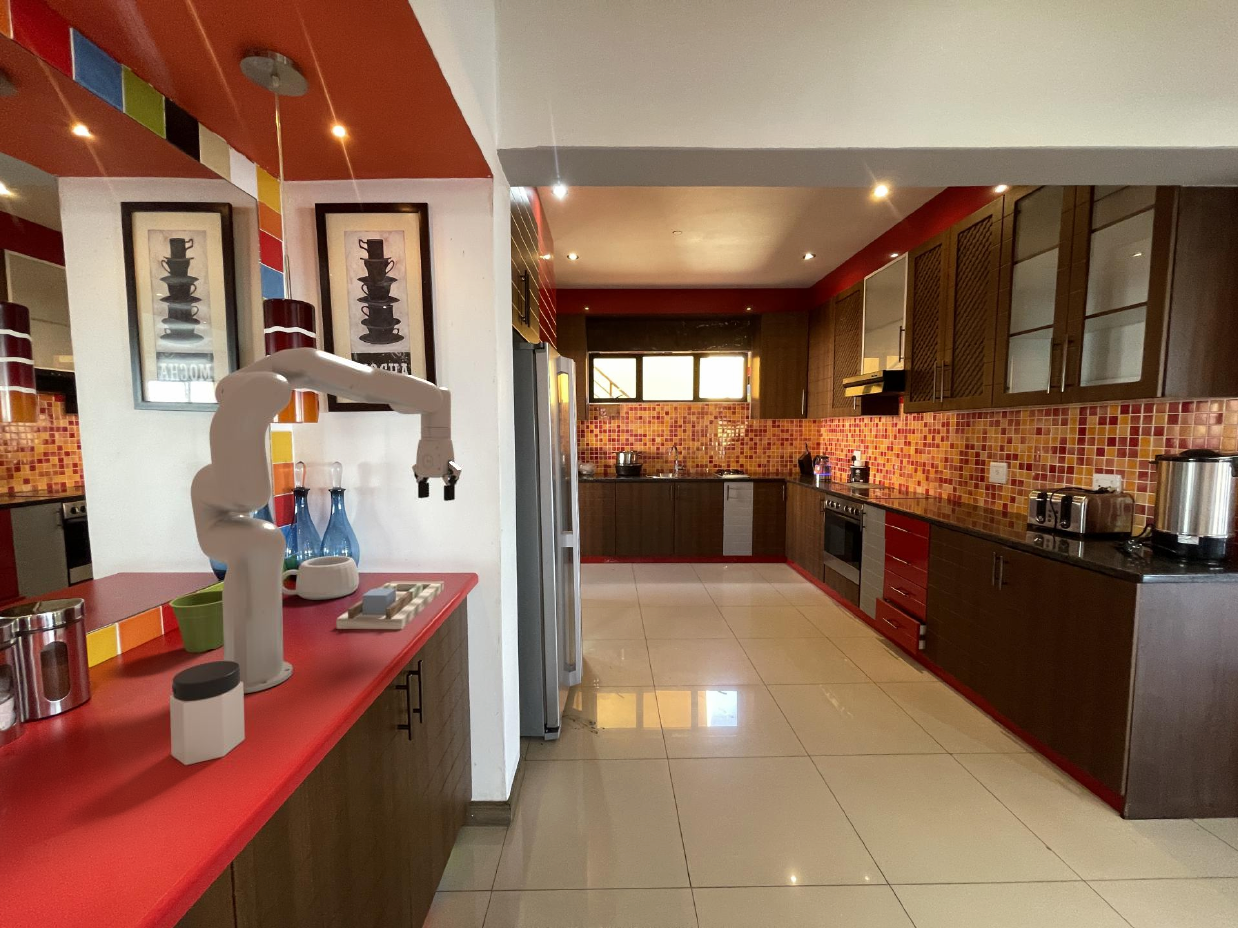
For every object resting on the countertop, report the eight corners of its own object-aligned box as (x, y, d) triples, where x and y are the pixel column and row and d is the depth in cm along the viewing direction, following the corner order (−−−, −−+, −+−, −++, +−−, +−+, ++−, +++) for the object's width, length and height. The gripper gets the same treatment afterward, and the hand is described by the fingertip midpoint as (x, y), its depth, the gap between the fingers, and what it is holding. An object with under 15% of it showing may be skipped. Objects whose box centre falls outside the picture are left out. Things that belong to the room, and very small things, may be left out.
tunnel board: (401, 628, 132) (401, 609, 132) (336, 628, 132) (336, 608, 132) (443, 589, 166) (443, 573, 166) (392, 588, 166) (391, 573, 166)
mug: (351, 582, 173) (351, 552, 172) (365, 595, 160) (365, 562, 159) (273, 594, 159) (272, 561, 158) (281, 609, 146) (280, 573, 146)
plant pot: (178, 642, 122) (177, 593, 122) (241, 633, 128) (240, 587, 127) (163, 661, 112) (161, 609, 111) (232, 652, 117) (231, 601, 117)
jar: (205, 731, 86) (203, 658, 86) (255, 732, 86) (253, 659, 86) (157, 765, 77) (154, 684, 77) (212, 766, 77) (210, 685, 77)
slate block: (386, 614, 135) (386, 595, 135) (362, 614, 135) (362, 595, 135) (395, 607, 141) (395, 588, 141) (372, 607, 141) (372, 588, 141)
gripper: (402, 433, 142) (402, 498, 143) (448, 434, 133) (448, 502, 134) (424, 434, 148) (425, 495, 149) (470, 435, 140) (470, 499, 141)
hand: (436, 498), depth 142 cm, fingers open, 9 cm apart
